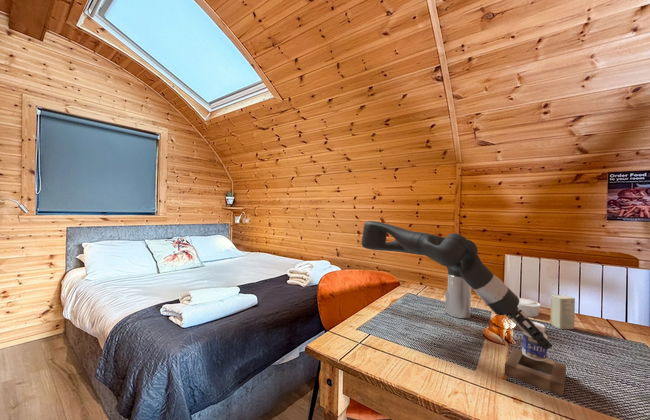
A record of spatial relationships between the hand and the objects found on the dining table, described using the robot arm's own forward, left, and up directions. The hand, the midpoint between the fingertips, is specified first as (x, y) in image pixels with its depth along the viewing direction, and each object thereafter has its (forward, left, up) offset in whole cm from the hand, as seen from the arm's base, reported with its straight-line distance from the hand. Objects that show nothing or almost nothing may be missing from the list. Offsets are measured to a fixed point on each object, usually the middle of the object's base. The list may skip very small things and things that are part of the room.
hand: (542, 342), depth 73 cm
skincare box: (+2, +49, -10) cm, 50 cm away
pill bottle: (-2, -1, -4) cm, 5 cm away
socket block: (-1, 0, -9) cm, 10 cm away
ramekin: (-11, +56, -10) cm, 57 cm away
